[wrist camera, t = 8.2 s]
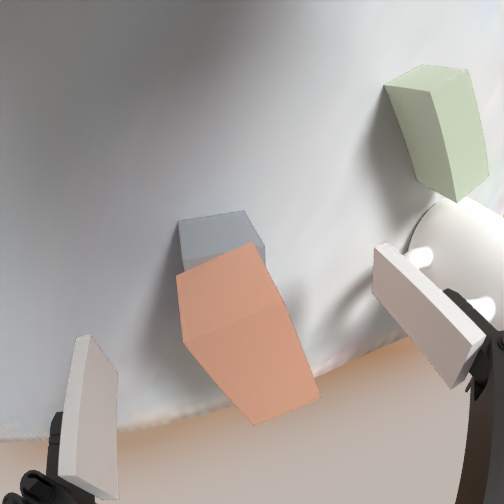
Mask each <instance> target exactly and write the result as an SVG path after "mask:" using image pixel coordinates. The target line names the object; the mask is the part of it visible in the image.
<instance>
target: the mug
mask: <svg viewBox="0 0 504 504" xmlns="http://www.w3.org/2000/svg"><path fill="white" fill-rule="evenodd" d="M403 256H404V257H405V258H406V259H407V260H409V261H410V262H411V263H412V264H413V265H414V266H415V267H416V268H418V269H419V270H420V271H421V272H422V273H423V274H424V275H425V276H426V277H427V278H428V279H430V280H431V281H432V282H433V283H434V284H435V285H436V286H437V287H438V288H439V289H440V290H441V291H443V290H445V289H447V288H449V289H451V290H453V291H455V292H458V293H459V294H460V295H461V296H462V297H463V298H465V299H466V300H467V302H469V303H470V304H471V305H472V306H473V308H475V309H476V310H477V311H478V312H479V313H480V314H481V315H482V316H483V317H484V318H485V319H486V320H487V321H488V322H489V323H490V324H491V325H492V326H493V327H494V328H495V329H496V330H498V331H504V218H502V217H501V216H499V215H498V214H496V213H494V212H493V211H491V210H489V209H488V208H486V207H484V206H483V205H481V204H479V203H478V202H476V201H474V200H472V199H470V198H468V197H464V198H463V199H462V200H461V201H460V202H459V203H455V202H453V201H452V200H450V199H448V198H444V199H442V200H440V201H439V202H437V203H436V204H435V205H434V206H432V207H431V208H430V209H429V210H428V211H427V212H426V214H425V215H424V216H423V217H422V219H421V220H420V222H419V223H418V225H417V227H416V229H415V231H414V233H413V235H412V238H411V241H410V244H409V248H408V252H407V253H405V254H404V255H403Z"/></svg>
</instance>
